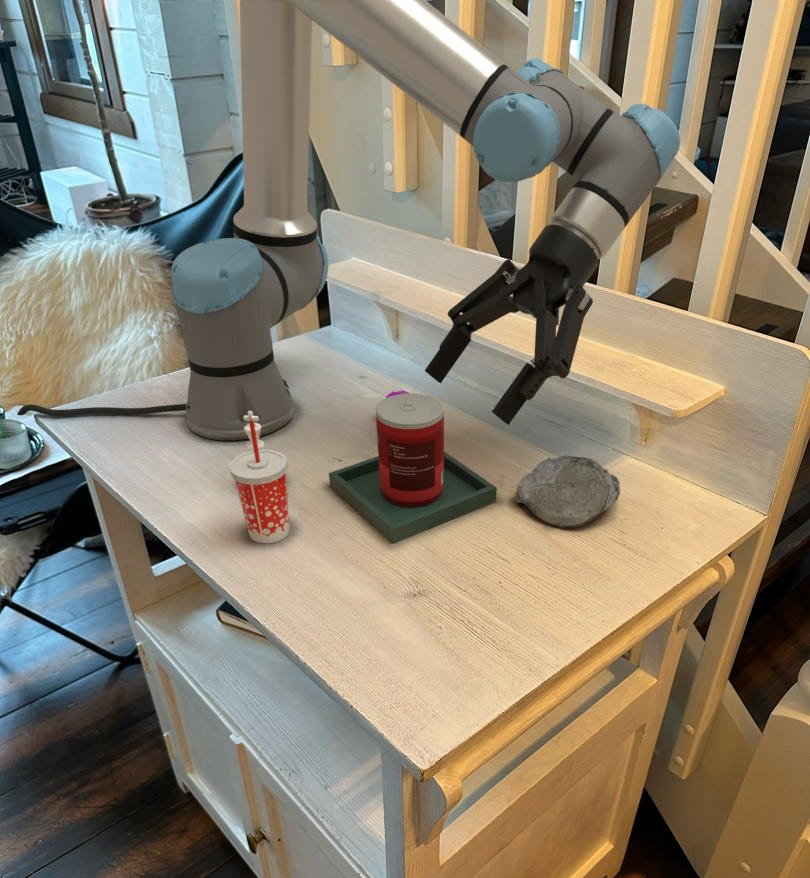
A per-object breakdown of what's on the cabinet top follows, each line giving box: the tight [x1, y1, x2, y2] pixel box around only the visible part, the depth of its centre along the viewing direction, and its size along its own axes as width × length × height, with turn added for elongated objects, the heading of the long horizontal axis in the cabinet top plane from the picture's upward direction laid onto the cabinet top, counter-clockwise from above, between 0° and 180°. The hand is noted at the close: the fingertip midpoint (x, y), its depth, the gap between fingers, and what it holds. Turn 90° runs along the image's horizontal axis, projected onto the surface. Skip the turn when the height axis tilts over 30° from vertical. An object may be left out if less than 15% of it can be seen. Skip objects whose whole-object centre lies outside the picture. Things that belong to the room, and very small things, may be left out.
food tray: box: [328, 451, 498, 544], centre depth 91 cm, size 15×15×2 cm
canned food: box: [375, 392, 445, 507], centre depth 88 cm, size 8×8×11 cm
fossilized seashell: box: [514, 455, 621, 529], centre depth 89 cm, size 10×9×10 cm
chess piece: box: [244, 411, 265, 451], centre depth 92 cm, size 5×5×10 cm
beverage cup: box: [228, 420, 291, 544], centre depth 82 cm, size 6×6×14 cm
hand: (464, 397), depth 89 cm, fingers open, 13 cm apart
